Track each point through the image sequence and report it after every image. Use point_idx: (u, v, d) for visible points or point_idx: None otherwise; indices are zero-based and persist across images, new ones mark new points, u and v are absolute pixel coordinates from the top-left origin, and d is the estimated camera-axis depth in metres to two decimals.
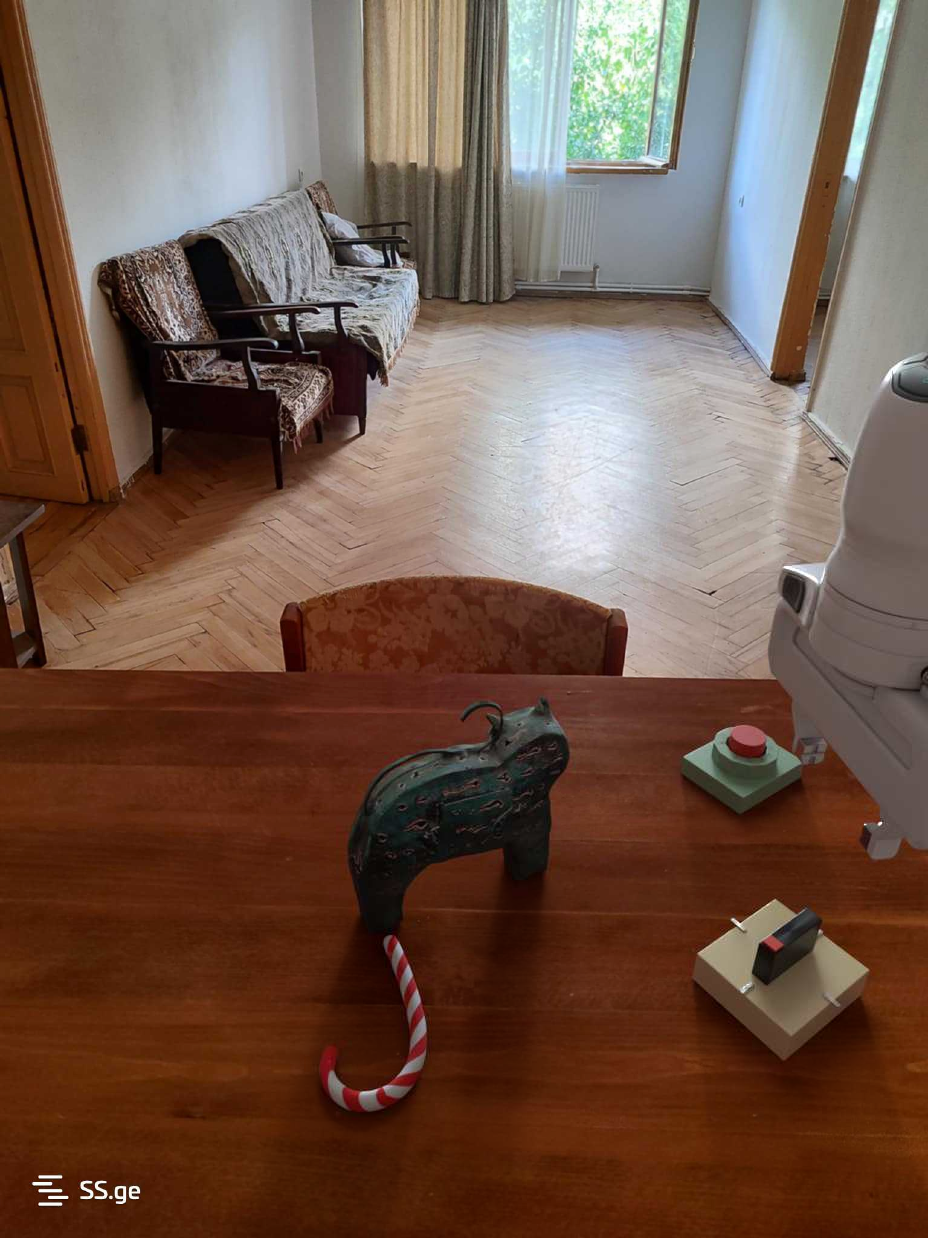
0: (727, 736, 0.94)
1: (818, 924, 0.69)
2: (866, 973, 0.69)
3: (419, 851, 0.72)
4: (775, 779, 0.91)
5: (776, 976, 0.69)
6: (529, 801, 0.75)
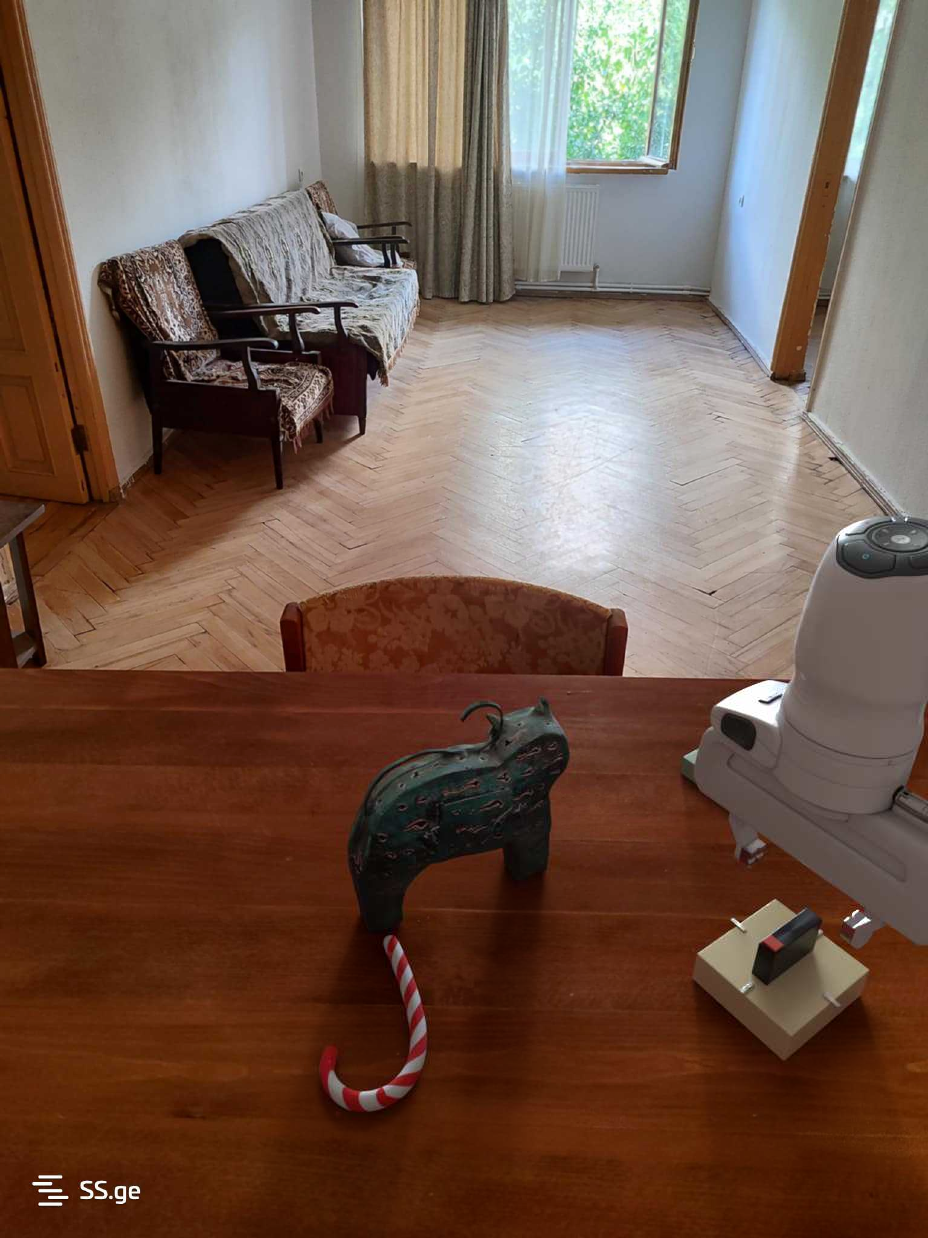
0: None
1: (818, 924, 0.69)
2: (866, 973, 0.69)
3: (419, 851, 0.72)
4: None
5: (776, 976, 0.69)
6: (529, 801, 0.75)
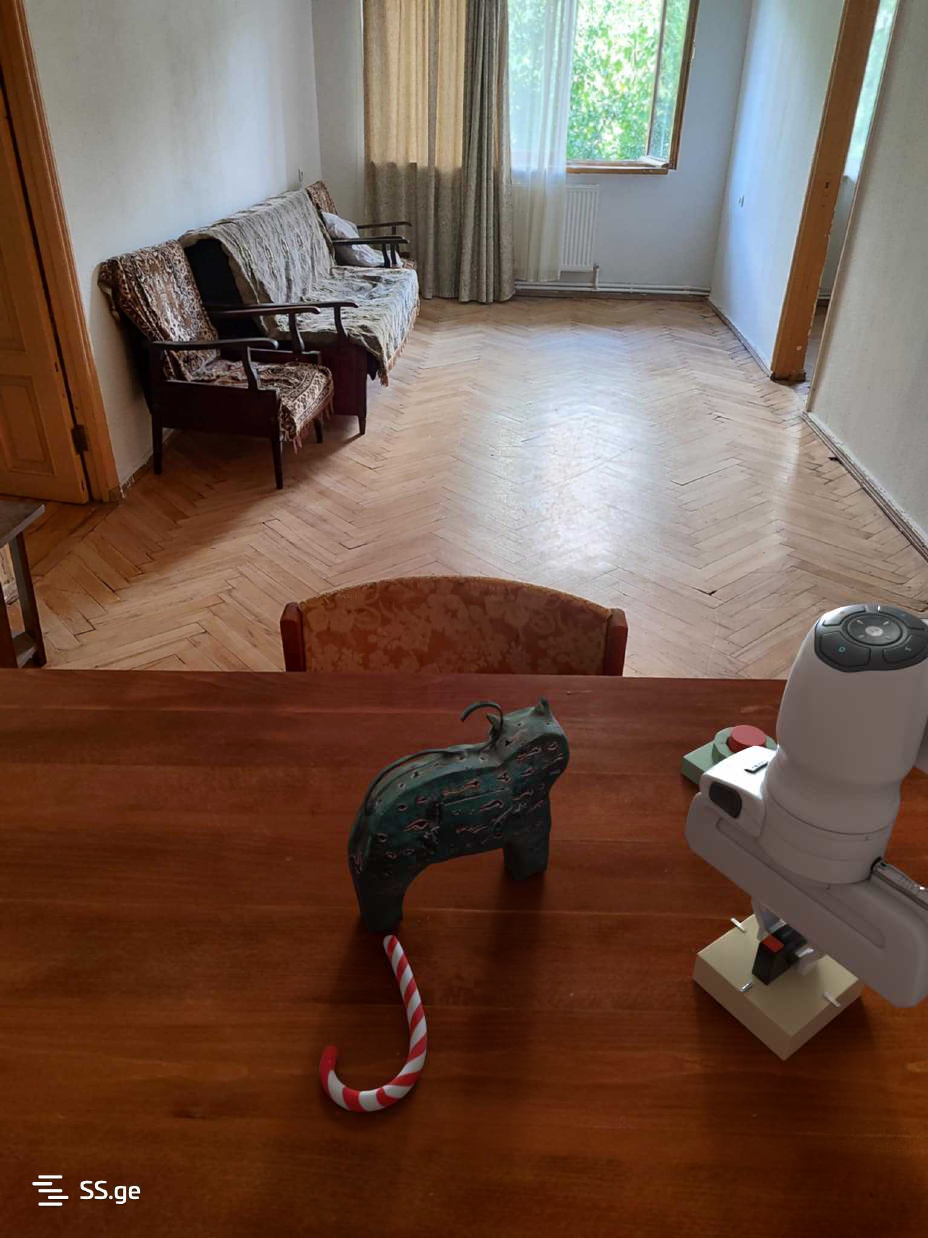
0: (727, 736, 0.94)
1: None
2: None
3: (419, 851, 0.72)
4: None
5: (776, 976, 0.69)
6: (529, 801, 0.75)
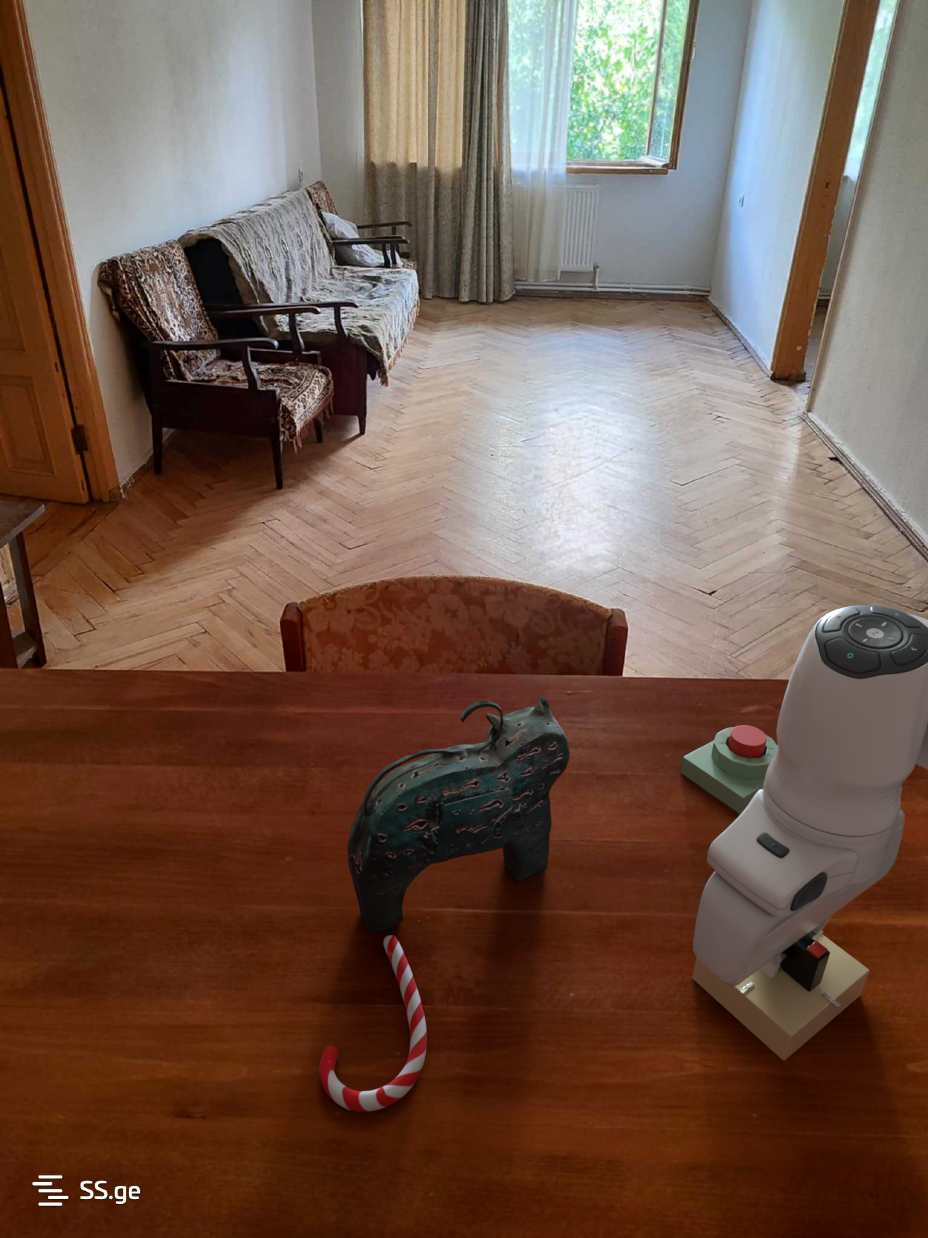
0: (727, 736, 0.94)
1: None
2: (866, 973, 0.69)
3: (419, 851, 0.72)
4: None
5: None
6: (529, 801, 0.75)
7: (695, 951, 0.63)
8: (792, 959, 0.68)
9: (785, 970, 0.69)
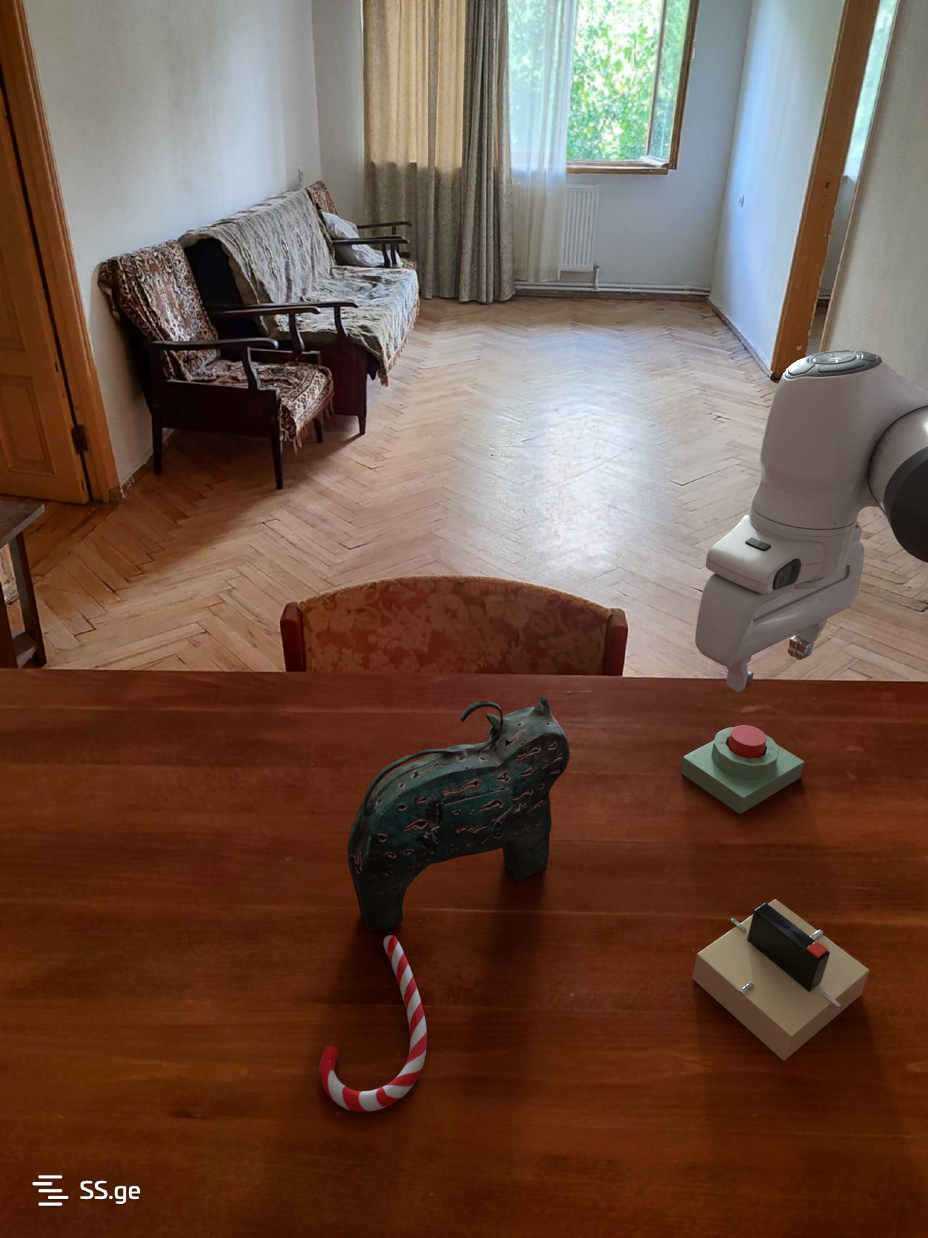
0: (727, 736, 0.94)
1: (771, 908, 0.71)
2: (866, 973, 0.69)
3: (419, 851, 0.72)
4: (775, 779, 0.91)
5: None
6: (529, 801, 0.75)
7: (697, 643, 0.78)
8: (792, 959, 0.68)
9: (785, 970, 0.69)
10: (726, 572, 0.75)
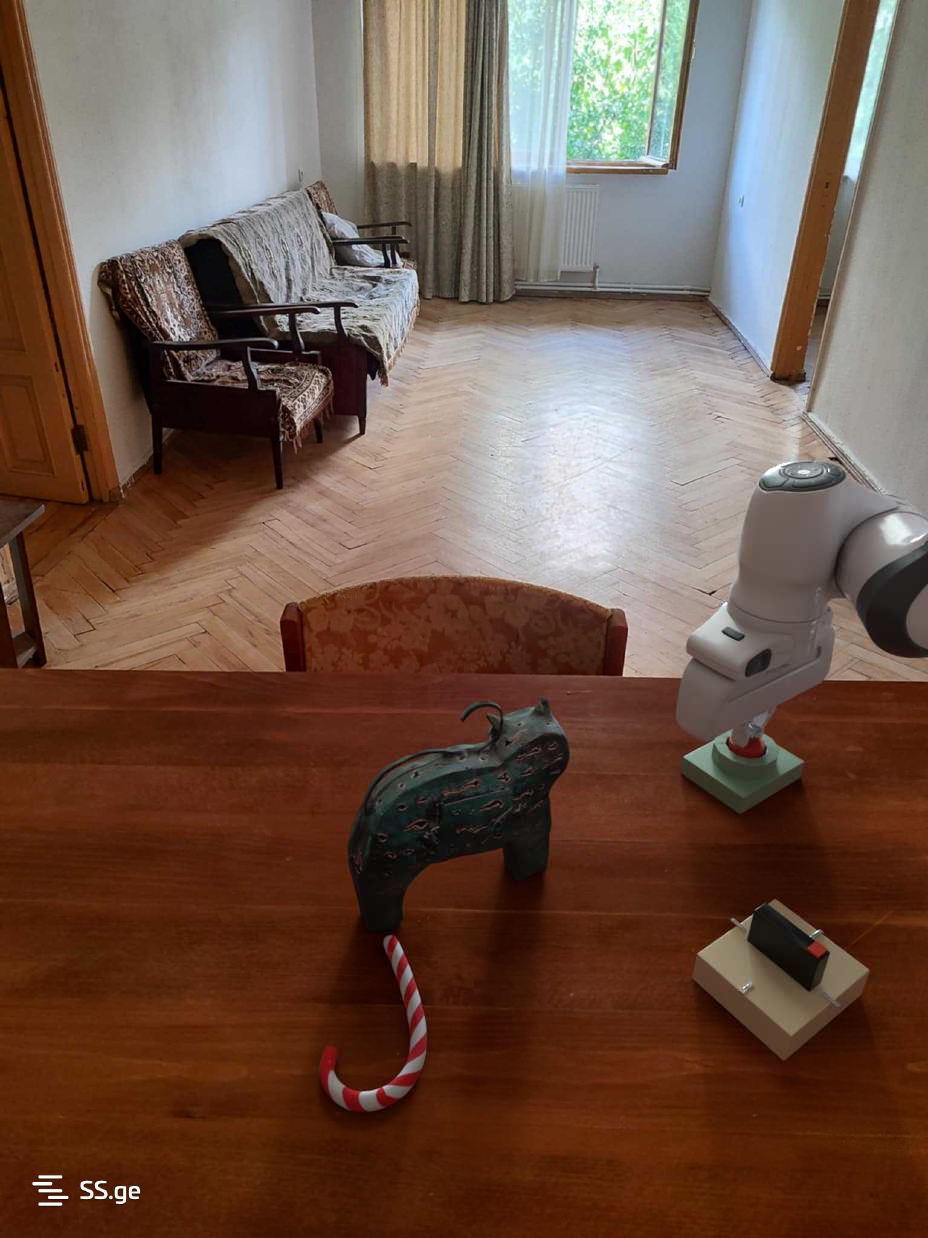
0: (727, 736, 0.94)
1: (771, 908, 0.71)
2: (866, 973, 0.69)
3: (419, 851, 0.72)
4: (775, 779, 0.91)
5: None
6: (529, 801, 0.75)
7: (677, 719, 0.85)
8: (792, 959, 0.68)
9: (785, 970, 0.69)
10: (703, 659, 0.82)
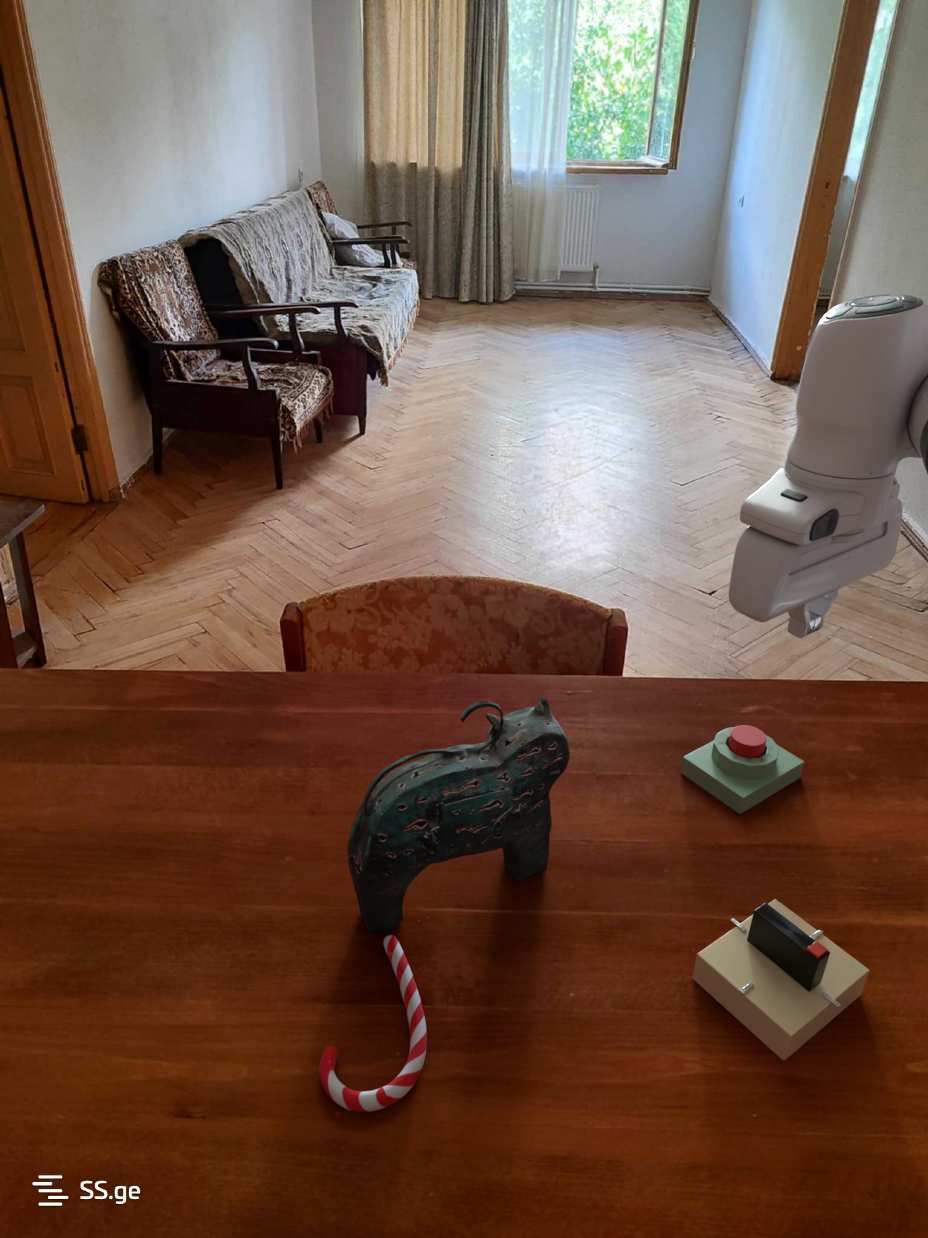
0: (727, 736, 0.94)
1: (771, 908, 0.71)
2: (866, 973, 0.69)
3: (419, 851, 0.72)
4: (775, 779, 0.91)
5: None
6: (529, 801, 0.75)
7: (730, 599, 0.76)
8: (792, 959, 0.68)
9: (785, 970, 0.69)
10: (761, 524, 0.73)
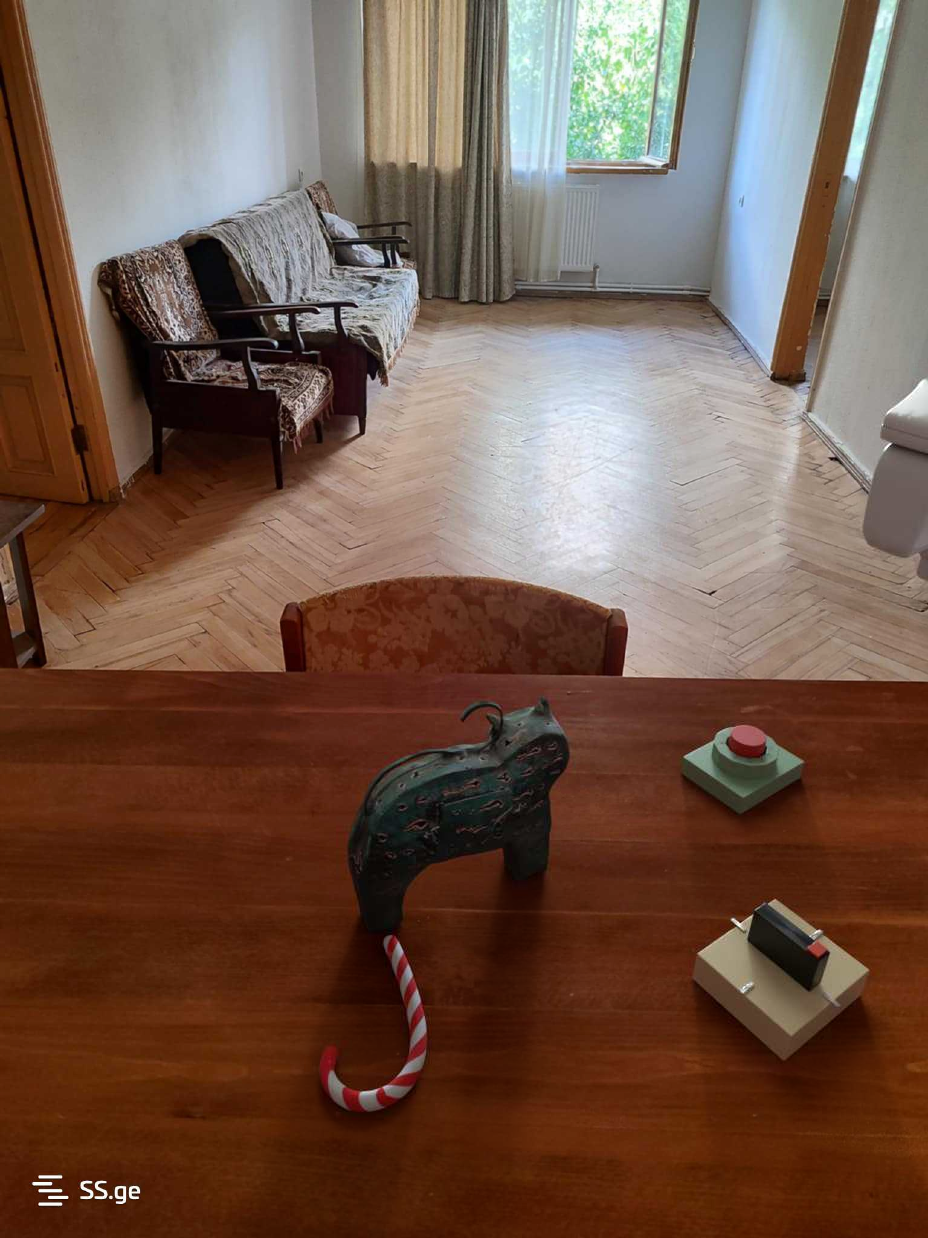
0: (727, 736, 0.94)
1: (771, 908, 0.71)
2: (866, 973, 0.69)
3: (419, 851, 0.72)
4: (775, 779, 0.91)
5: None
6: (529, 801, 0.75)
7: (865, 531, 0.65)
8: (792, 959, 0.68)
9: (785, 970, 0.69)
10: (911, 438, 0.61)
